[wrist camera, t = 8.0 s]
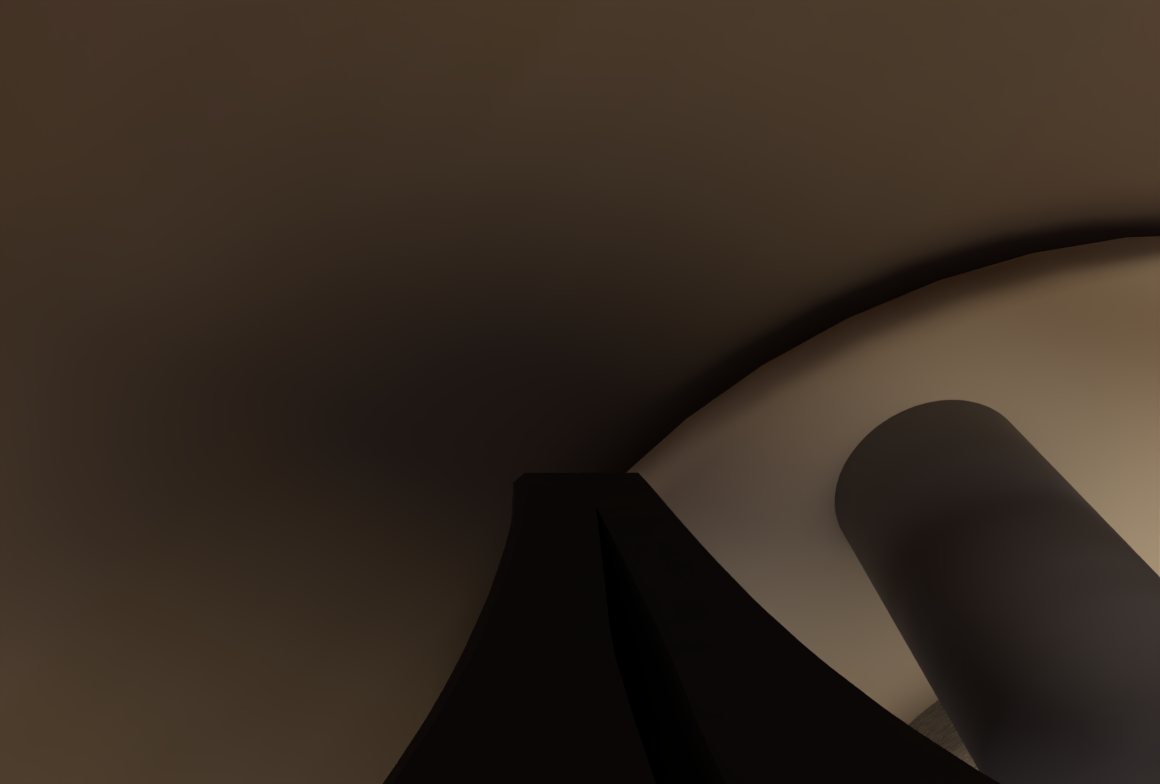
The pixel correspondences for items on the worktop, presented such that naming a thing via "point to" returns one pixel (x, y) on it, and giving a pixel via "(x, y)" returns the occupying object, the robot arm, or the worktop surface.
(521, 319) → the worktop surface
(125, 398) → the worktop surface
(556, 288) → the worktop surface
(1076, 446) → the turntable
